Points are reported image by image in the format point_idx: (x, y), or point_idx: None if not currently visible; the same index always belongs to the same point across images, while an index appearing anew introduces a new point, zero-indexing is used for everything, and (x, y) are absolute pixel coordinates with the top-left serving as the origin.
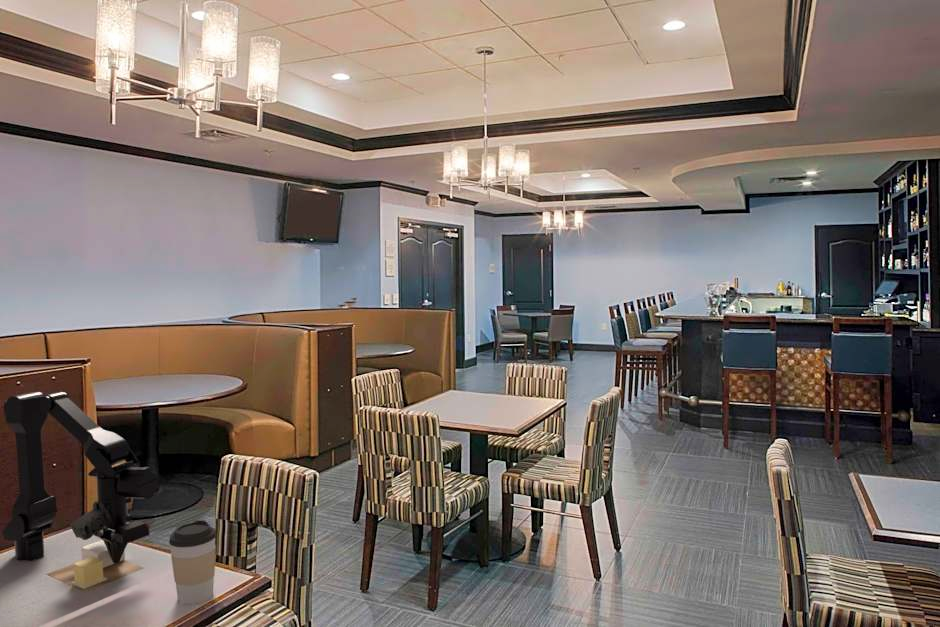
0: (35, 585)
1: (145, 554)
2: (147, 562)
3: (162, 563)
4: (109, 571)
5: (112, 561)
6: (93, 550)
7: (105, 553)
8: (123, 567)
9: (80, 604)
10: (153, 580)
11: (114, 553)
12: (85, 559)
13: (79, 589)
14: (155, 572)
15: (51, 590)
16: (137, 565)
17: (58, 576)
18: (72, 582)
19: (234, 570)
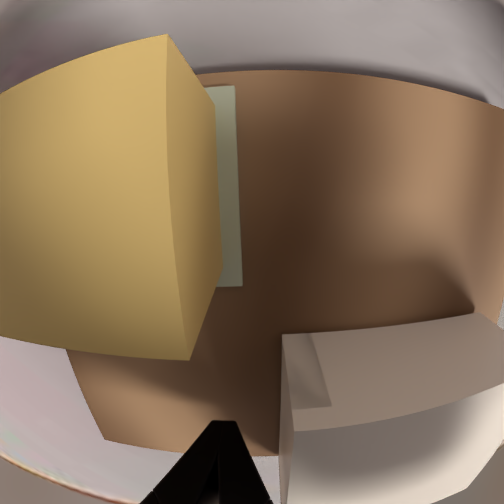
0: (458, 37)
1: None
2: None
3: (148, 479)
4: (193, 357)
5: (281, 425)
6: (425, 424)
7: (289, 458)
8: (182, 417)
9: (13, 81)
10: (20, 383)
11: (163, 478)
12: (156, 238)
13: None
14: (81, 431)
15: (322, 21)
16: (152, 447)
17: (441, 112)
18: (216, 88)
19: (3, 458)
